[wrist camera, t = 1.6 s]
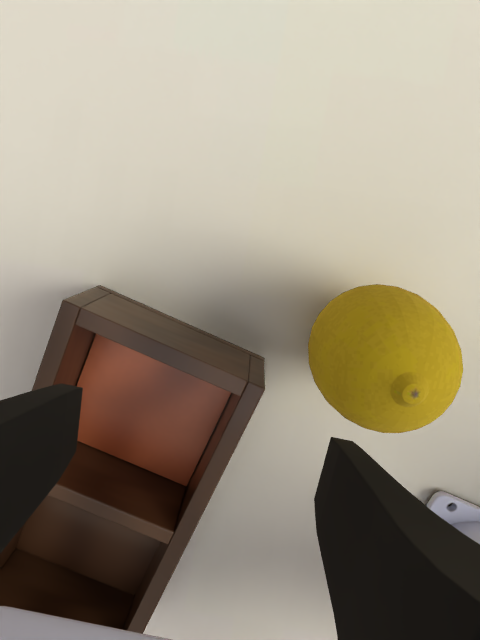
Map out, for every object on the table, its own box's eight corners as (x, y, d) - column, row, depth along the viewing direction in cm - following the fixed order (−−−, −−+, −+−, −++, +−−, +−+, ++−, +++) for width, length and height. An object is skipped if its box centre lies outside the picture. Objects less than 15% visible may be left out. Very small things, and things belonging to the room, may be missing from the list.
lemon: (407, 381, 21) (494, 475, 13) (298, 380, 21) (320, 472, 13) (417, 273, 20) (520, 306, 12) (301, 273, 20) (327, 306, 12)
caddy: (264, 357, 21) (265, 388, 17) (144, 602, 25) (123, 672, 21) (99, 284, 20) (62, 299, 17) (4, 546, 25) (-44, 607, 21)
